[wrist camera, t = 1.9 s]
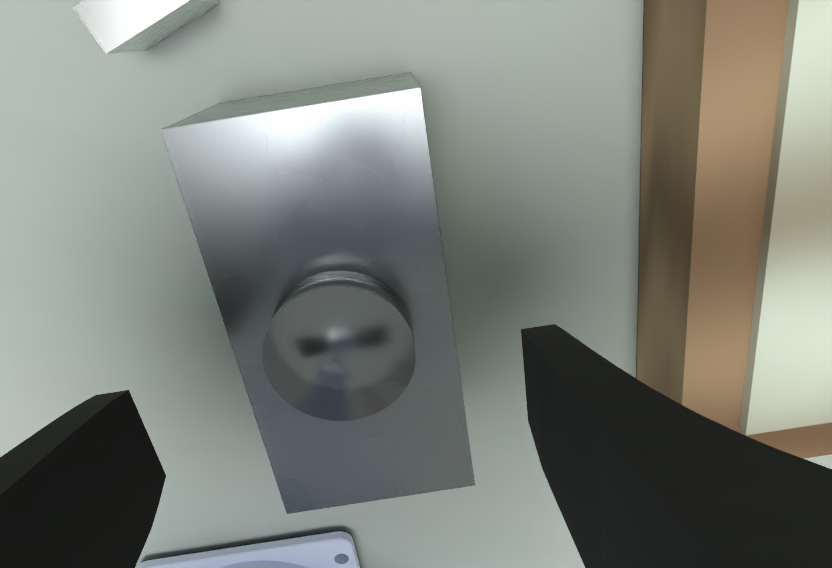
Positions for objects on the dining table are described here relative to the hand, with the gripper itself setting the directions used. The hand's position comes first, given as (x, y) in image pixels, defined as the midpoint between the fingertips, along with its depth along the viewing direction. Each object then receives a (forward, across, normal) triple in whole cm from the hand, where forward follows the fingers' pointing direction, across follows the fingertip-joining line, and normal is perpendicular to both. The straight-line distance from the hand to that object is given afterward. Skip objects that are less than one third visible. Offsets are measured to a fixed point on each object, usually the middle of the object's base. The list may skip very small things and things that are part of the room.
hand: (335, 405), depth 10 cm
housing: (+7, 0, 0) cm, 7 cm away
